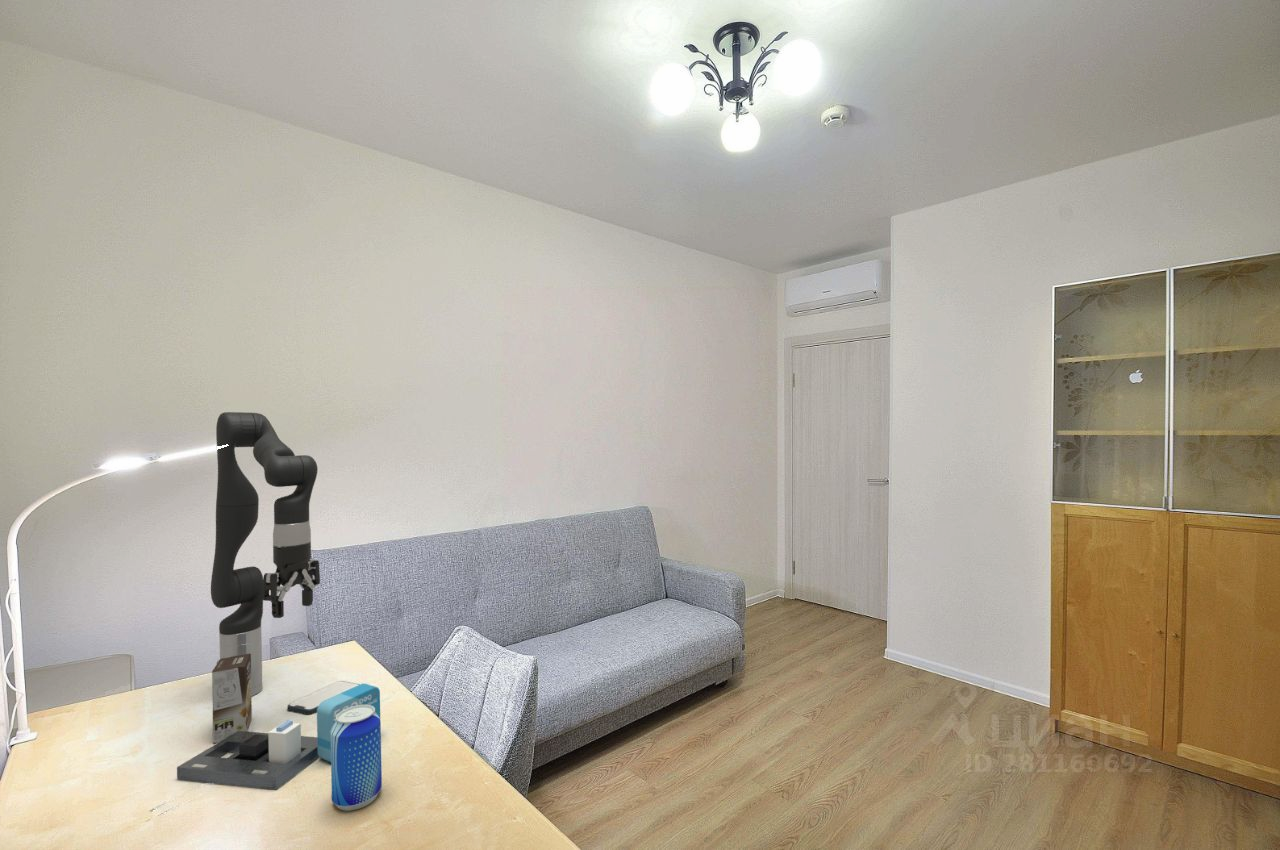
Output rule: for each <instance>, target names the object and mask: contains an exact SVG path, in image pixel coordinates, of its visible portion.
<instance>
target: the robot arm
mask: <svg viewBox="0 0 1280 850" xmlns="http://www.w3.org/2000/svg"><path fill="white" fill-rule="evenodd" d="M215 431H216V432H215V433H216V434H215V435H216V440H215V441H216V447H217V446H222V445H226V444H228V445H229V446H227V447H224V448H221V449H218V450H217V449H216V456H217V458H216V459H217V485H216V486H217V487H216V500H215V501H216V502H215V544H214V545H215V546H214V547H215V548H214V556H213V557H214V558H213V564H212V565H213V566H212V572H211V581H210V595H211V601H212V604H213V605H214V606H215V607H216V608H219V609H223V608H228V607H229V608H230V607H233V606H237V605H239V607H238V608H237V609H236V610H235V611H233V613H230V615H228V616H226V617H225V618H223V619H222V620H221V621H220V622H219V625H218V631H219V659H218V660H217V661H216V664H217V663H218V662H219V660H220V659H222V658H228V657H232V656H237V655H244V654H251V695H252V697H253V696H255V695H257V694H258V693H260V692H262V690H263V651H262V649H263V647H262V646H263V644H262V619H263V613H264V602H266V601H268V602H270V603H271V615H272V617H273V618H274V619H281V618H283V617H285V616H284V615H285V611H284V609H285V605H284V597H285V595H286V594H287V593H288V592H290V590H291V588H292V587H295V586H296V585H299V586H300V588H302V590H301V605H302V607H303V606H304V607H310V606H312V605H313V601H314V593H313V592H314V589H315V586H319V585H320V584H321V583H320V582H321V575H320V560H317V559H316V560H313V559H311V558H312V535H311V534H312V533H311V532H312V531H311V530H312V529H311V524H310V502H311V498H312V492H313V490H314V486H315V483H316V479H317V476H318V469H319V468H318V464H317V462H316V460H315V459H314V458H313V456H311V455H306V454H305V455H304V454H303V455H296V454H295V453H294V451H293V450H292V449H291V448H290V447H289V446H288V445H286V443H284V442H283V440H281V439H280V438H279V436H278V434H277V432H276V429H274V427H273V426H272V423H271V422H270V421H269V419H268V417H266V416H265V415H263V414H262V413H260V412H259V413H258V412H235V411H231V412H230V411H228V412H226V411H224V412H221V414H220V413H219V416H218V418H217V421H216V430H215ZM236 448H253V449H252V454H253V458H254V459H255V461H256V462H257V463H258V464H259V465H260V466H261V467H262V469H263V472H264V479H265V481H266V483H267V484H268V485H269V486H272V487H277V488H283V487H295V486H296V487H295V490H294V491H293V492H292V493H290V494H288V495H285V496H281V497H278V498H276V499H275V501H274V503H273V520H274V521H273V530H272V531H273V532H272V555H273V556H272V562H273V564H274V565H275V567H276V569H275V572H272V573H271V572H268V573H267V572H266V573H264V574H263V573H262V571H261V569H260V568H259V567H257V566H247V567H242V568H236V569H234V568H235V563H236V558H237V555H238V554H239V552H240V549H241V548H242V546H243V544H244V543H245V541H246V540H247V539H248V537H249V536H250V535H251V533H252V531H253V530H254V529H255V527H256V525H257V523H258V518H259V501H260V500H259V494H258V492H257V490H256V488H255V487H254V485H253V484H252V483H251V482H250V480H249V478H247V476H246V475H245V474H244V472H243V471H242V470H241V468H240V465H239V464H238V460H237V458H236V451H235V450H236Z"/></svg>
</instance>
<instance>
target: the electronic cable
mask: <svg viewBox="0 0 1280 850" xmlns="http://www.w3.org/2000/svg"><path fill="white" fill-rule="evenodd" d="M209 784H211V785H212V786H211V787H210V788H209V789H207V790H206V791H204V792H202V793H201V794H198V795H197V796H195V797H193V798H191V799H189V800H187V801H185V802H183V803H180V804H178V805H176V806H172V807H170V808H168V809H166V810H164V811H162V812H161V813H160V814H159V815H158V814H157V817H158V816H161V815H163V816H164V815H166V814H168V813H170V812H172V811H174V810H176V809H177V808H179V807H180V806H182V805H184V804H186V803H188V802H189V801H192V800H194V799H196V798H197V797H199V796H201V795H204V794H205V793H207V792H208V791H210V790H211V789H213V788H214V786H215V784H214V783H203V784H201V785H198V786H196V787H195V788H192V789H190V790H189V791H186V792H184V793H182V794H180V795H179V796H177V797H175V798H173V799H170V800H168V801H167V802H166V801H164V802H163V803H160V804H158V805H157V806H155V807H153V808H152V809H150V810H149V811H148V812H149V813H152V812H153V811H157V810H159V809H161V808H163V807H165V806H167V805H168V804H169V803H171V802H173V801H174V800H177V799H179V798H180V797H182V796H184V795H186V794H188V793H190V792H192V791H194V790H196V789H197V788H201V787H202V786H205V785H209Z"/></svg>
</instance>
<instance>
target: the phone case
mask: <svg viewBox="0 0 1280 850" xmlns="http://www.w3.org/2000/svg"><path fill="white" fill-rule="evenodd" d="M360 684H361V683H355V682H349V681H345V680H339V681H335V682H332V683H331V684H329V685H327V686H324V687H322V688H320V689H319V690H318V689H317V690H316V691H314V692H312V693H309V694H308V695H305V696H304V697H303V696H302V697H301V698H299V699H297V700H294V701H293V702H291V703H288V704H287V707H286V709H287V712H292V713H295V714H299V715H304V716H312V715H314V714H317V708H318V706H319V704H320V703H321V702H323V701H324V700H327V699H329V698H331V697H333V696H335V695H338V694H340V693H342V692H344V691H347V690H349V689H351V688H353V687H356V686H358V685H360Z"/></svg>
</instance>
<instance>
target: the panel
mask: <svg viewBox="0 0 1280 850" xmlns="http://www.w3.org/2000/svg"><path fill="white" fill-rule="evenodd" d="M227 754H231V755H230V756H227V757H224V756H226V755H227ZM319 758H320V757H319V756H318V747H317V736H306V735H301V753H300V754H299V755H297V756H296V757H295V758H293V759H292V760H290V761H289V762H288V763H286V764H283V763H273V762H269V737H268V732H259V731H258V732H257V731H249V730H247V731H237V732H235V733H234V734H232V735H230V736H228V737H227V738H225V739H223V740H222V741H220V742H217V743H214V745H212V746H210V747H209V748H207V749H205V750H204V751H202V752H200V753H199V754H197V755H195V756H193V757H191V758H190V759H188V760H187V761H185V762H183V763H182V764H180V765H179V766H176V780H178V781H184V782H187V781H188V782H195V783H196V782H197V783H203V784H206V783H214V785H215V784H217V785H225V786H231V787H235V786H236V787H242V788H243V787H245V788H252V789H254V788H255V789H263V790H271V791H272V790H273V791H277V790H279V789H280V788H282V787H283V786H285V784H287V783H288V782H290V780H291V779H293V778H294V777H296V775H298V774H300V773H301V772H302V771H304V769H306V768H307V767H308V766H310V765H311V764H313V763H314V762H315V761H316V760H318V759H319Z"/></svg>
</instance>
